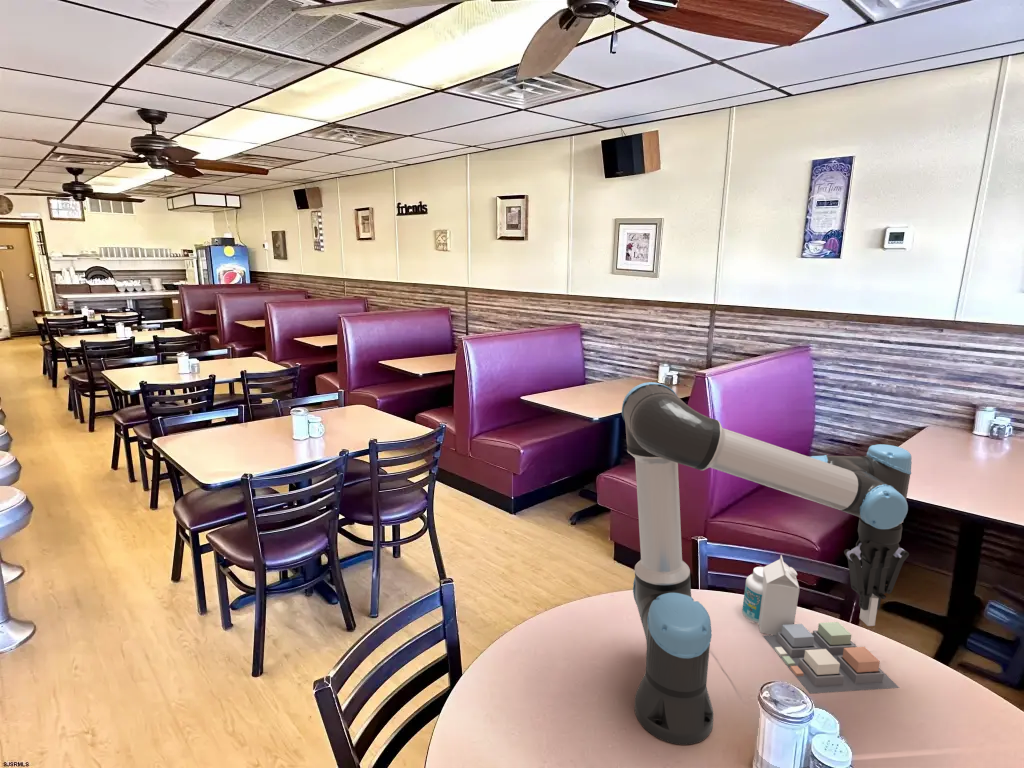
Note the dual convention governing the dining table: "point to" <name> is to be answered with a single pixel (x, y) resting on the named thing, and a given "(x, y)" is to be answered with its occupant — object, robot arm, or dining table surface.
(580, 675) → the dining table surface
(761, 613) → the milk carton
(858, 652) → the terracotta key
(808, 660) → the cream key
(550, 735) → the dining table surface
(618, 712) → the dining table surface
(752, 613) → the pill bottle
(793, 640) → the slate key
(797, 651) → the keypad
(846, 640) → the sage key
